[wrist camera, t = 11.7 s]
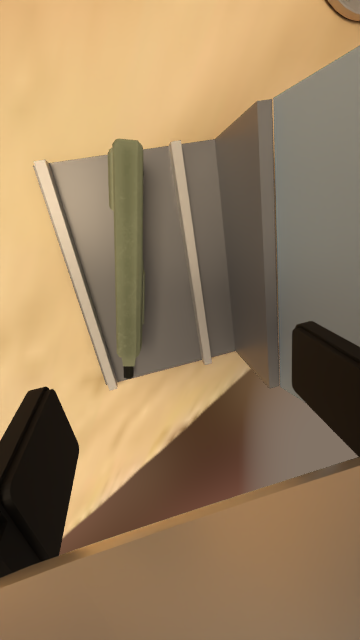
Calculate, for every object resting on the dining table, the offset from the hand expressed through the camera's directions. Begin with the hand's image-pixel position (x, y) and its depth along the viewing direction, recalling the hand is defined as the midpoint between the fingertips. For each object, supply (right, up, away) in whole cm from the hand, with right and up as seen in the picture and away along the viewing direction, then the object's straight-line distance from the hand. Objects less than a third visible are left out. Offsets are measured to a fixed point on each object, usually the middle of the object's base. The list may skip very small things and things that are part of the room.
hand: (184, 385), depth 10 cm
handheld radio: (-6, +7, +21) cm, 23 cm away
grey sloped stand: (-3, +8, +22) cm, 24 cm away
